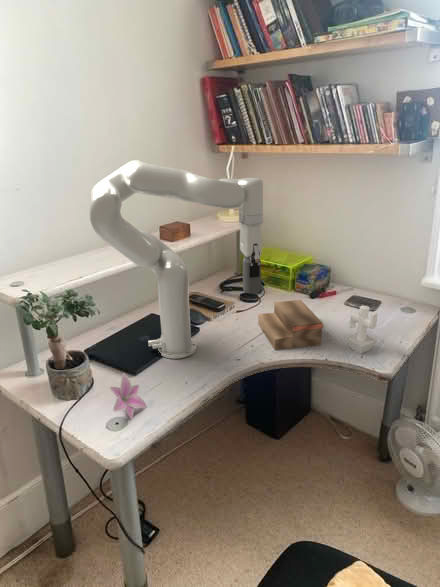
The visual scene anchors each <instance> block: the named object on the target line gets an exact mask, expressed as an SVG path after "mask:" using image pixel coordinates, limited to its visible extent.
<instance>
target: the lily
mask: <svg viewBox="0 0 440 587" xmlns="http://www.w3.org/2000/svg"><path fill="white" fill-rule="evenodd" d="M108 387H109V390H110V391H111V392H112V393H113V394H114V395H115V397H117V398H116V401H115V403H114V406H113V410H112V411H113V412H120V411H124V410H125V412H126V413H127V415H128V417H129V419H130V420H133V418H134V412H135V411H134V410H135V409H146V408H147V407H148V405H147V403H146V402H145V401H144V399H143V398H142V397H140V395H138V393H139V392H140V388H141V386H140V385H139V384H135V385H132V383H131V380H130V379H129V377H128V375H127V374H126V373H124V372H123V373H122V376H121V382H120V387H119V386H108Z"/></svg>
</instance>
